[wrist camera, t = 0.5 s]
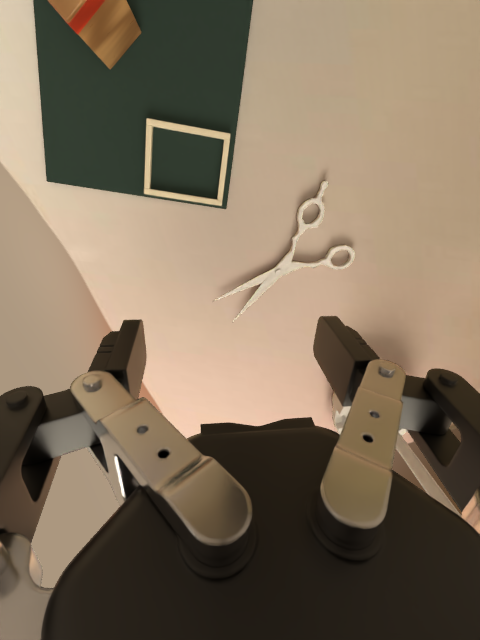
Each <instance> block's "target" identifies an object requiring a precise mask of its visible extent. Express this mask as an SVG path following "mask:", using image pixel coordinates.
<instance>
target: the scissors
mask: <svg viewBox="0 0 480 640" xmlns="http://www.w3.org/2000/svg"><path fill="white" fill-rule="evenodd" d="M327 186H328V182H326V181H323V182H322V183H321V184H320V189H319V191H318V193H317V195H316V197H315V199H314V198H311V199H309V200H306V201H305V202H304V203H303V204H302V205H301V206H300V207H299V209H298V213H297V222H298V230H297V233H296V234H295V235H294V236H293V237H292V245H291V249H290V251H289V252H288V253H287V254H286V255H285V256H284V257H283V258H282V259H281V260H280V262H279V263H278V264H277V265H276V267H275V268H273V269H271V270H269V271H267V272H265V273H263V274H261V275H259V276H257V277H255V278H253V279H251V280H249V281H247V282H246V283H244V284H242V285H240V286H239V287H237V288H235V289H233V290H231V291H229V292H228V293H226V294H224V295H222V296H220V297H219V298H217V299H216V300H219V299H221V298H224V297H227V296H229V295H232V294H235V293H238V292H240V291H243V290H245V289H247V288H250V287H253V286H256V285H259V284H261V283H262V284H261V286H260V287H259V288H258V289H257V291H256V292H255V293H254V294H253V296H252V297H251V298H250V300H249V301H248V302H247V303H246V305H245V306H244V307H243V309H242V310H241V311H240V313H239V314H238V315H237V317H236V318H238V317H239V316H240V315H241V314H242V313H243V312H244V311H245V310H246V309H247V308H248V307H250V306H251V305H252V304H253V303H254V302H255V301H256V300H257V299H258V298H259V297H260V296H261V295H263V294H264V293H265V292H266V291H267V290H268V289H269V288H270V287H271V286H272V285H273V284H274V283H275V282H276V281H277V280H278V279H279V278H280V277H281V276H284V275H286V274H288V273H290V272H292V271H295V270H297V269H300V268H303V267H311V268H315V267H317V266H319V265H321V264H323V265H326V266H328V267H330V268H332V269H344V268H346V267H348V266H349V265H350V264H351V263H352V262H353V260H354V257H355V253H354V251H353V249H352V248H350V247H348V246H346V245H339V246H335V247H332V248H330V249H329V251H328V253H327V255H326V257H325V258H324V259H321V260H319V261H317V262H299V261H292V258H293V254H294V251H295V246H296V243H297V240H298V238H299V237H300V235H301V234H302V233H303V232H304V231H306V230H307V229H309V228H314V227H318V226H319V224H320V223H321V221H322V219H323V216H324V210H325V209H324V205H323V203H322V202H321V198H322V195H323V193H324V190H325V189H326V188H327ZM311 203H315V204H317V205H318V207H319V211H320V212H319V215H318V217H317V218H316V219H315V220H314V221H313V222H311V223H310V224H305V223H304V221H303V219H302V214H303V211H304V209H305V208H306V207H307V206H308V205H310V204H311ZM341 250H347V251H348V252H349V259H348V260H347V262H345V263H344V264H342V265H341V266H337V265H333V264H332V263H331V258H332V256H333V254H335V253H337V252H339V251H341ZM216 300H214V301H216ZM212 302H213V301H212ZM236 318H235V319H236ZM235 319H234V320H235ZM234 320H233V321H234Z"/></svg>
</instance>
